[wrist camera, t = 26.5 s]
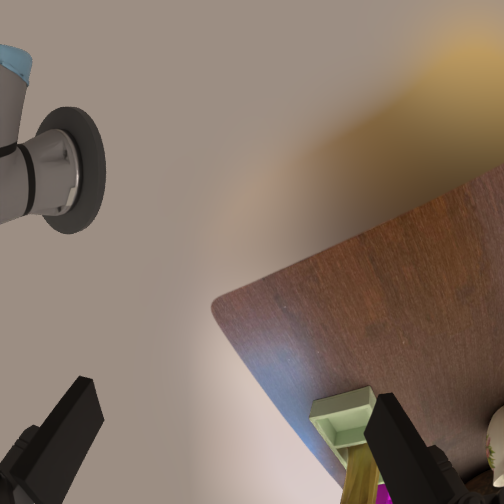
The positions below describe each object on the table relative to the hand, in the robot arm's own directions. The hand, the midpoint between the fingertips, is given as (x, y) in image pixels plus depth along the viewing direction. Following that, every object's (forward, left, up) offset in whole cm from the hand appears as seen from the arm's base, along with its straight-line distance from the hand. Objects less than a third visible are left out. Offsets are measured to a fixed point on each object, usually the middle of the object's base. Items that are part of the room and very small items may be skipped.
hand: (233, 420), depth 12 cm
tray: (+24, -26, -24) cm, 42 cm away
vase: (+24, -26, -23) cm, 42 cm away
